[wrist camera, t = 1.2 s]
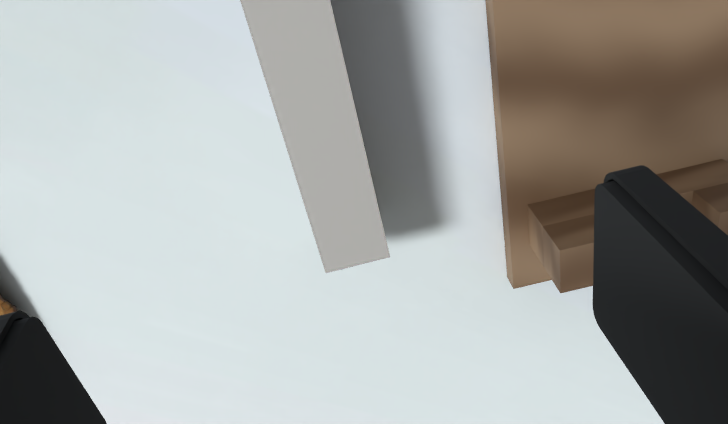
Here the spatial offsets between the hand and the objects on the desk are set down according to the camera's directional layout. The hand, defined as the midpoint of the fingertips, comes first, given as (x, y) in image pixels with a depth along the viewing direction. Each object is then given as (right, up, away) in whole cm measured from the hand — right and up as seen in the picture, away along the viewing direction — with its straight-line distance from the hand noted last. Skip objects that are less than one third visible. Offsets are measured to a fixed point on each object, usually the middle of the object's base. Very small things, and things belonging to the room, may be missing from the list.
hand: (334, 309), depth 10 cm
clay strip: (-2, +10, +15) cm, 18 cm away
